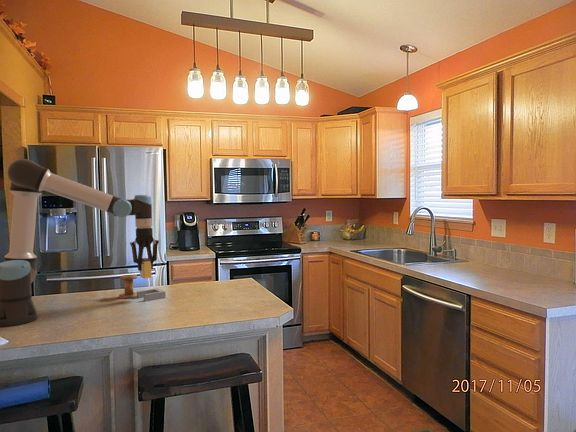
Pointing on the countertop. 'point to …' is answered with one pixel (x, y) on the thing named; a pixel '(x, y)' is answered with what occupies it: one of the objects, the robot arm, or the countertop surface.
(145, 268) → the yellow upright block
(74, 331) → the countertop surface
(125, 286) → the bobbin
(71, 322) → the countertop surface
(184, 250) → the countertop surface
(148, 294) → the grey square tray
